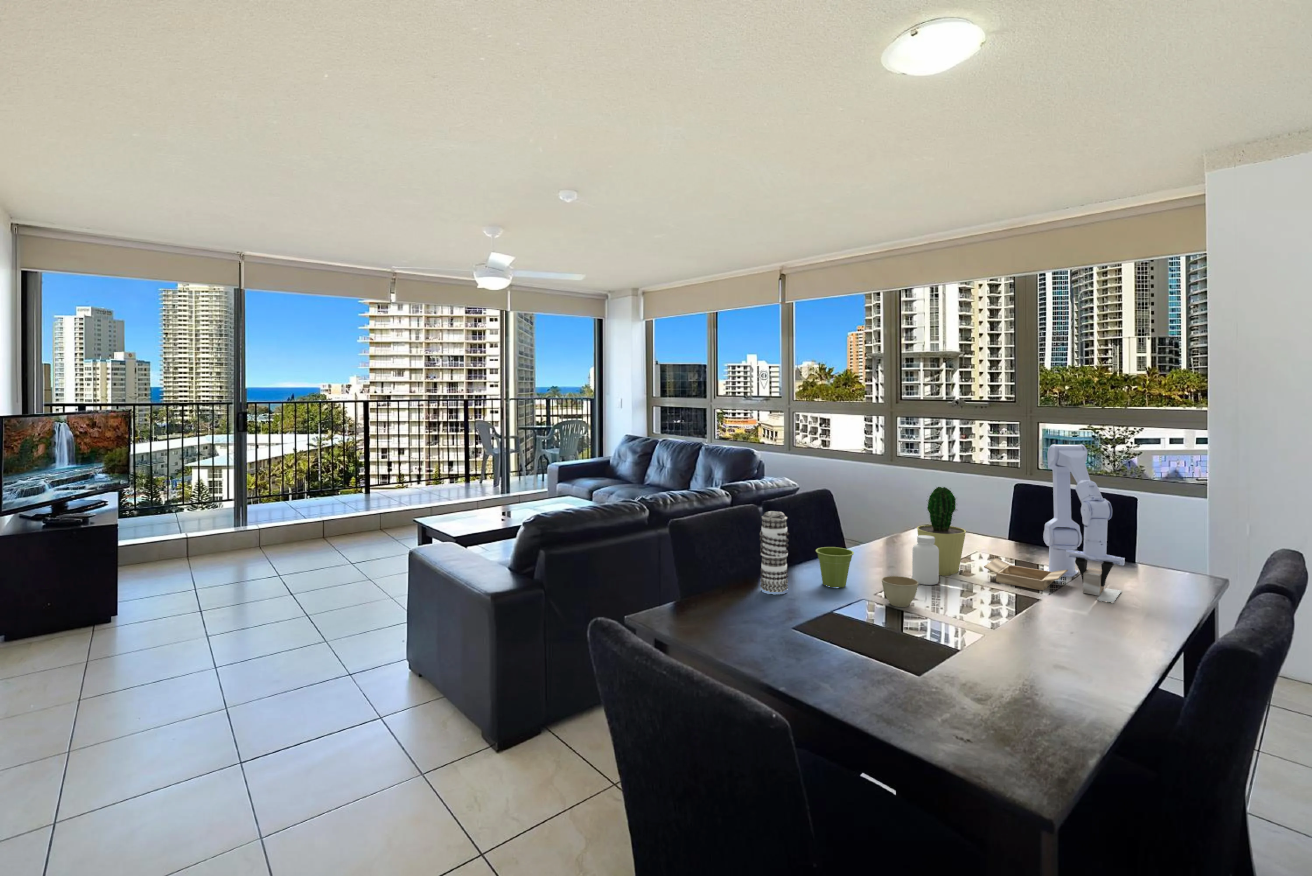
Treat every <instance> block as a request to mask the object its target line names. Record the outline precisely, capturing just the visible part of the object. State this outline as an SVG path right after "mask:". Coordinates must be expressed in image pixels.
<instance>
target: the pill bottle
mask: <svg viewBox="0 0 1312 876" xmlns="http://www.w3.org/2000/svg"><path fill="white" fill-rule="evenodd" d="M934 542H935V537H933V536H927V535H919V536H918V535H917V536H916V543H915V544H914V545H913V546H912V549H911V550H912V552H911V553H912V554H911V555H912V559H911V560H912V561H911V564H912V565H911V568H912V569H911V572H912V573H911V577H912V579H915V580H916V581H918V585H925V586H933V585H937V584H939V579H940V577H939V576H940V575H939V549H938V547H937V546H936V545H934Z"/></svg>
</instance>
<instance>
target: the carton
mask: <svg viewBox="0 0 1312 876" xmlns="http://www.w3.org/2000/svg"><path fill="white" fill-rule="evenodd" d="M983 567H984V568H985V569H986V570H987V571H990V572H992V573H995V574H996V577H995V578H996V579H995V581H996V583H999V584H1005V585H1011V586H1012V585H1013V586H1018V587H1022V588H1027V589H1033V590H1039V591H1044V590H1046V589H1047V588H1048V587H1049V586H1050V585H1051V584H1052V583H1054V582H1055V581H1058V580H1060V579H1061V577H1063V576H1065V575H1064V574H1065V573H1066V572H1067V571H1068V569H1067V570H1060V571H1054V572H1051V571H1047V570H1044V569H1036V568H1032V567H1031V568H1030V567H1025V566H1020V565H1013V564H1009V563H1008V562H1005V561H1003V560H1002V559H999V558H994V559H993V560H992V561H990V562H988V563H986V564H985V565H983Z"/></svg>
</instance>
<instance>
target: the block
mask: <svg viewBox="0 0 1312 876" xmlns="http://www.w3.org/2000/svg"><path fill="white" fill-rule="evenodd" d="M1101 578H1102V569H1101V568H1100V569H1099V568H1092V567H1087V570H1086V571H1085V572H1084V573H1083V582H1082V593H1083V594H1089V595H1095V596H1098V597H1099V595H1100V594H1101V593H1102V592H1103V590H1104V589H1105V586H1104V587H1103V586H1101Z"/></svg>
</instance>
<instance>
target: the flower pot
mask: <svg viewBox="0 0 1312 876" xmlns="http://www.w3.org/2000/svg"><path fill="white" fill-rule="evenodd" d="M881 582H882V583H881V585H882V588H883V592H884V595H885V596H886V599H887V601H888V602H889V604H890V605H891V606H893V607H897V608H907V607H909V606H910V605H911V603H913V600H914V598H915V597H916V594H917V592H918V589H919V584H918V581H916V580H915V579H912V578H911V577H907V576H901V575H889V576H888V575H887V576H884V577H882V578H881Z"/></svg>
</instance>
